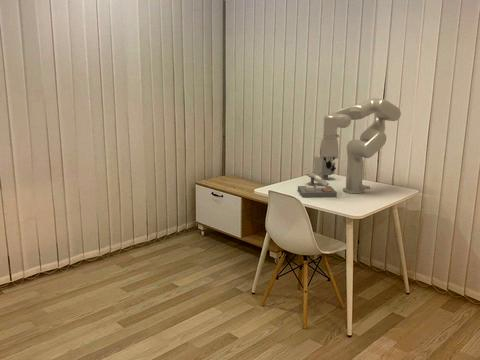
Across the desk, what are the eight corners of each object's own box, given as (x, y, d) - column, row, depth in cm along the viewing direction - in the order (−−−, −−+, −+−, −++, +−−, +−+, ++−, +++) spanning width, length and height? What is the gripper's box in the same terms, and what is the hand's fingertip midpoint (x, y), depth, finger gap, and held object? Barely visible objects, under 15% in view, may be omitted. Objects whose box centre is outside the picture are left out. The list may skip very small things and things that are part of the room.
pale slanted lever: (326, 184, 297) (307, 172, 300) (321, 192, 299) (302, 179, 302) (329, 182, 304) (310, 169, 308) (324, 189, 307) (306, 176, 310)
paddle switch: (314, 185, 287) (314, 176, 285) (315, 187, 282) (316, 177, 281) (308, 185, 286) (308, 176, 285) (309, 187, 282) (310, 177, 281)
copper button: (329, 193, 279) (329, 188, 279) (331, 195, 275) (331, 190, 274) (322, 193, 279) (322, 188, 278) (323, 195, 275) (324, 190, 274)
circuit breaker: (332, 181, 314) (333, 158, 311) (312, 178, 322) (313, 156, 318) (336, 179, 320) (337, 157, 317) (317, 176, 328) (318, 155, 325)
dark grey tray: (330, 190, 289) (330, 185, 289) (336, 197, 274) (336, 192, 273) (297, 190, 288) (297, 185, 287) (302, 197, 273) (302, 192, 272)
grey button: (312, 190, 278) (313, 185, 278) (314, 192, 274) (314, 187, 274) (305, 190, 278) (305, 185, 278) (306, 192, 274) (307, 187, 273)
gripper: (341, 136, 273) (339, 167, 278) (315, 136, 273) (314, 167, 277) (344, 137, 266) (342, 169, 271) (318, 138, 265) (317, 170, 270)
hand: (328, 168), depth 274 cm, fingers closed
